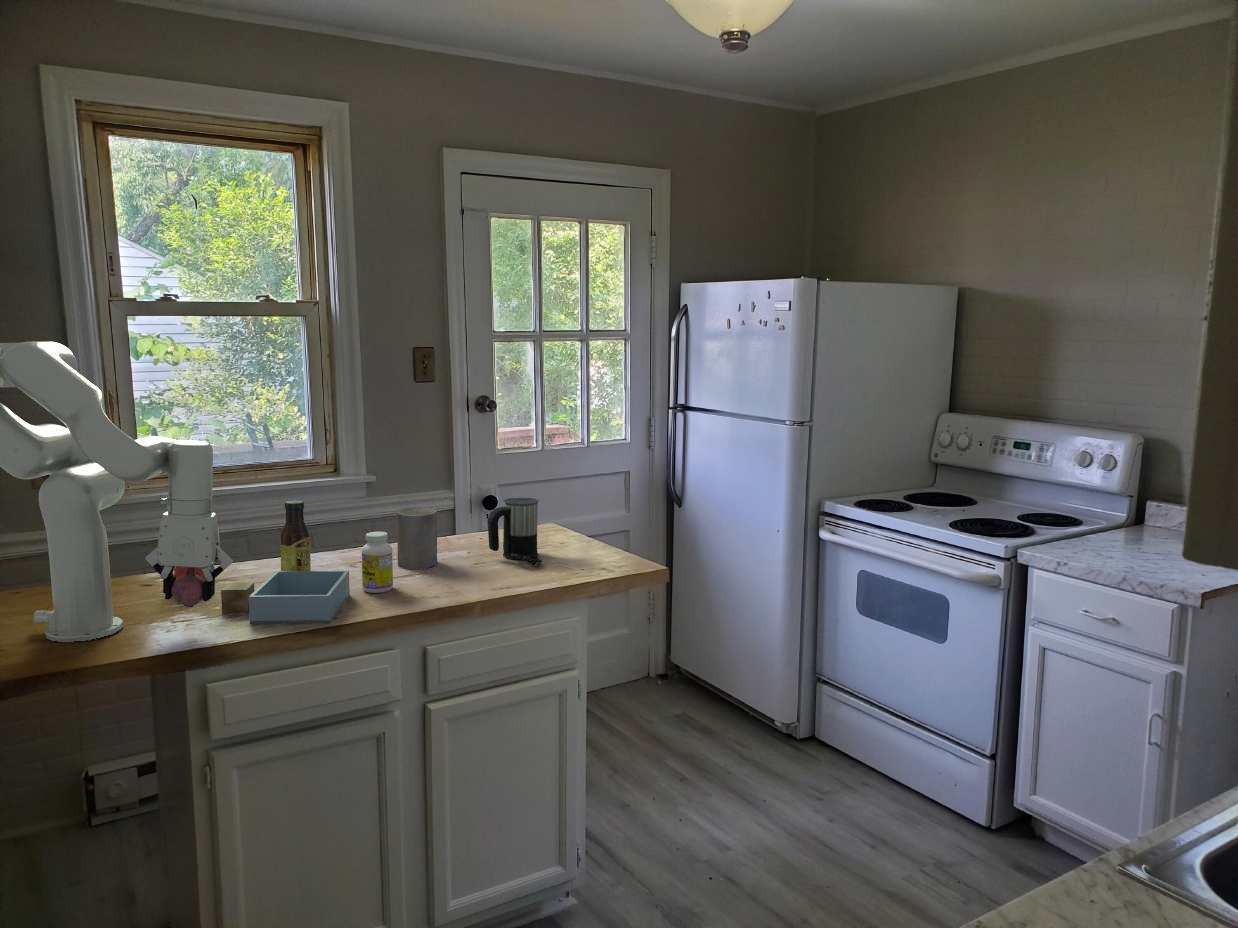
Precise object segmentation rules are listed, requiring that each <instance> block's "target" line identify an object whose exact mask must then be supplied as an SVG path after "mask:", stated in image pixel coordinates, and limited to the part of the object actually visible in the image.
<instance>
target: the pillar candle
mask: <svg viewBox="0 0 1238 928" xmlns="http://www.w3.org/2000/svg"><path fill="white" fill-rule="evenodd" d="M437 512H438V510H437V509H436V508H432V507H427V506H418V505H416V506H412V507H411V506H410V507H409V506H408V507H404V508H401V509H398V510H397V511H396V527H397V529H396V530H397V533H396V534H397V535H396V537H397V541H396V543H397V546H396V549H397V566H398V568H401V569H404V570H425V569H430V567H431V568H432V567H435V566H436V565H438V533H437V532H438V527H437Z"/></svg>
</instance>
